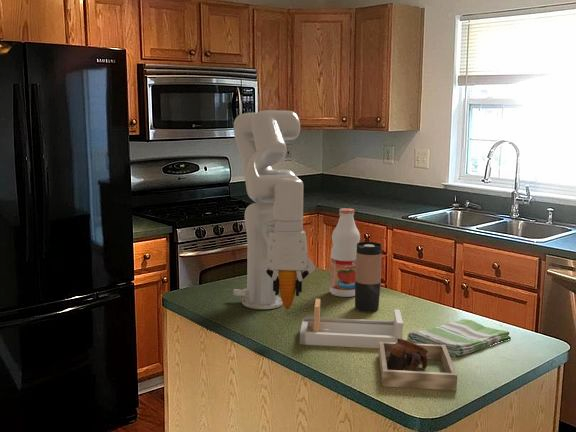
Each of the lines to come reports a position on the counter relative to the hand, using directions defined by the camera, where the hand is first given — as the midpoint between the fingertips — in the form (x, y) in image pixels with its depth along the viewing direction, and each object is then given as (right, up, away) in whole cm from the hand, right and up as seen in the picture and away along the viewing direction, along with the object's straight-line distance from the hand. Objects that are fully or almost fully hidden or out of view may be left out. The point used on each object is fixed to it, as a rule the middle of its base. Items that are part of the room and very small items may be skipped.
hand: (287, 293), depth 168 cm
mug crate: (+30, -16, -19) cm, 39 cm away
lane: (+17, -12, +1) cm, 21 cm away
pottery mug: (+28, -16, -19) cm, 37 cm away
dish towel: (+46, -13, +3) cm, 48 cm away
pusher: (+9, -12, +2) cm, 15 cm away
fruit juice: (+19, -5, +42) cm, 47 cm away
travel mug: (+24, -8, +27) cm, 37 cm away
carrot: (0, -5, +1) cm, 5 cm away
